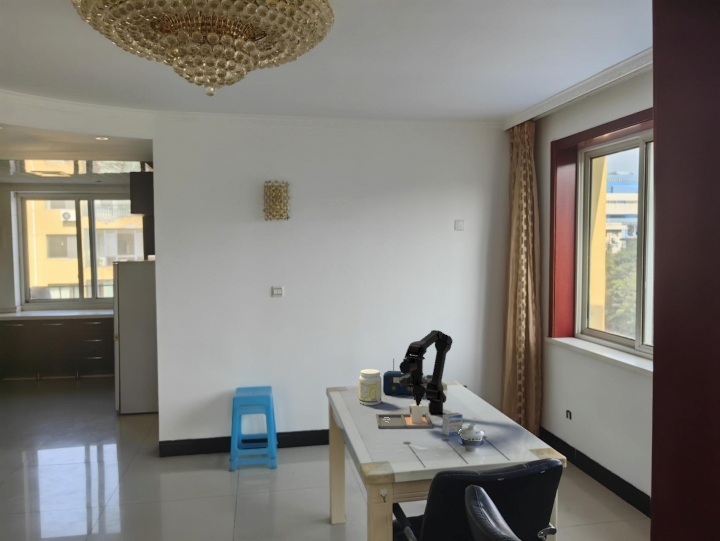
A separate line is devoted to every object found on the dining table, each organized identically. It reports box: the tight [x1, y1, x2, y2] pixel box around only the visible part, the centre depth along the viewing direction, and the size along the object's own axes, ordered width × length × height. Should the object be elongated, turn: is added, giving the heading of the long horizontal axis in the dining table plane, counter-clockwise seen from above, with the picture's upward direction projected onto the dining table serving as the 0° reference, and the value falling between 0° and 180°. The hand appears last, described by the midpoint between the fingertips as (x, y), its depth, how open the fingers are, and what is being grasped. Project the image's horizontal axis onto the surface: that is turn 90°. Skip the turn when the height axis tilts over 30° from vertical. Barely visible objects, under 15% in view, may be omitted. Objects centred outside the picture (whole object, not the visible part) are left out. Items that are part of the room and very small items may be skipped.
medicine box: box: [442, 412, 464, 437], centre depth 234 cm, size 8×4×9 cm, turn 117°
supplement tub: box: [358, 368, 383, 406], centre depth 280 cm, size 12×12×17 cm
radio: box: [382, 358, 413, 397], centre depth 297 cm, size 21×9×20 cm, turn 81°
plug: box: [409, 403, 423, 423], centre depth 248 cm, size 6×4×8 cm
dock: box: [375, 413, 434, 430], centre depth 248 cm, size 25×17×2 cm
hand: (416, 402), depth 248 cm, fingers open, 9 cm apart
